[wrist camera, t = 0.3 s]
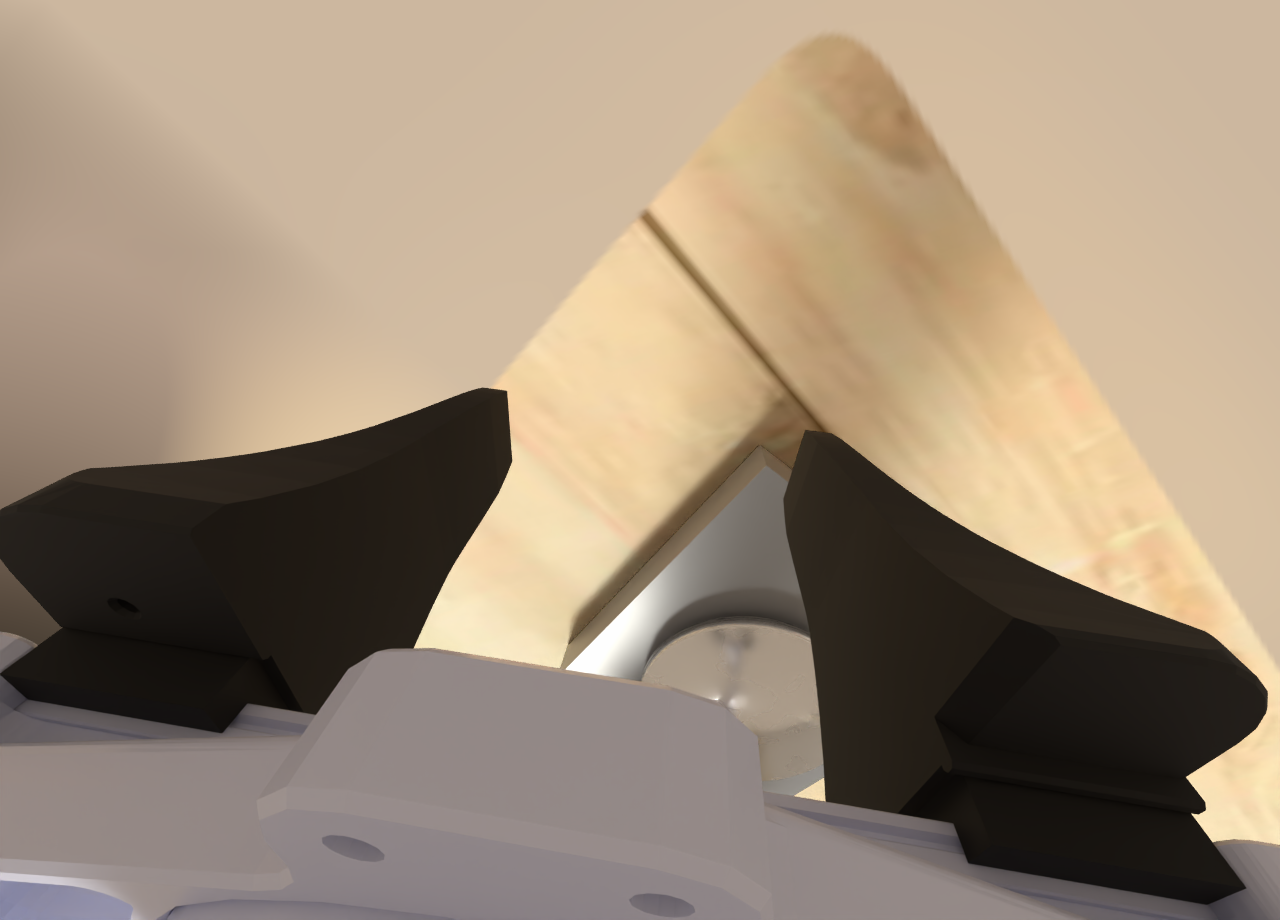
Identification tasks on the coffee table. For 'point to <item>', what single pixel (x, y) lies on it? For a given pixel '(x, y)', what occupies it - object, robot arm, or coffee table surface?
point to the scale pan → (751, 684)
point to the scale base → (705, 582)
